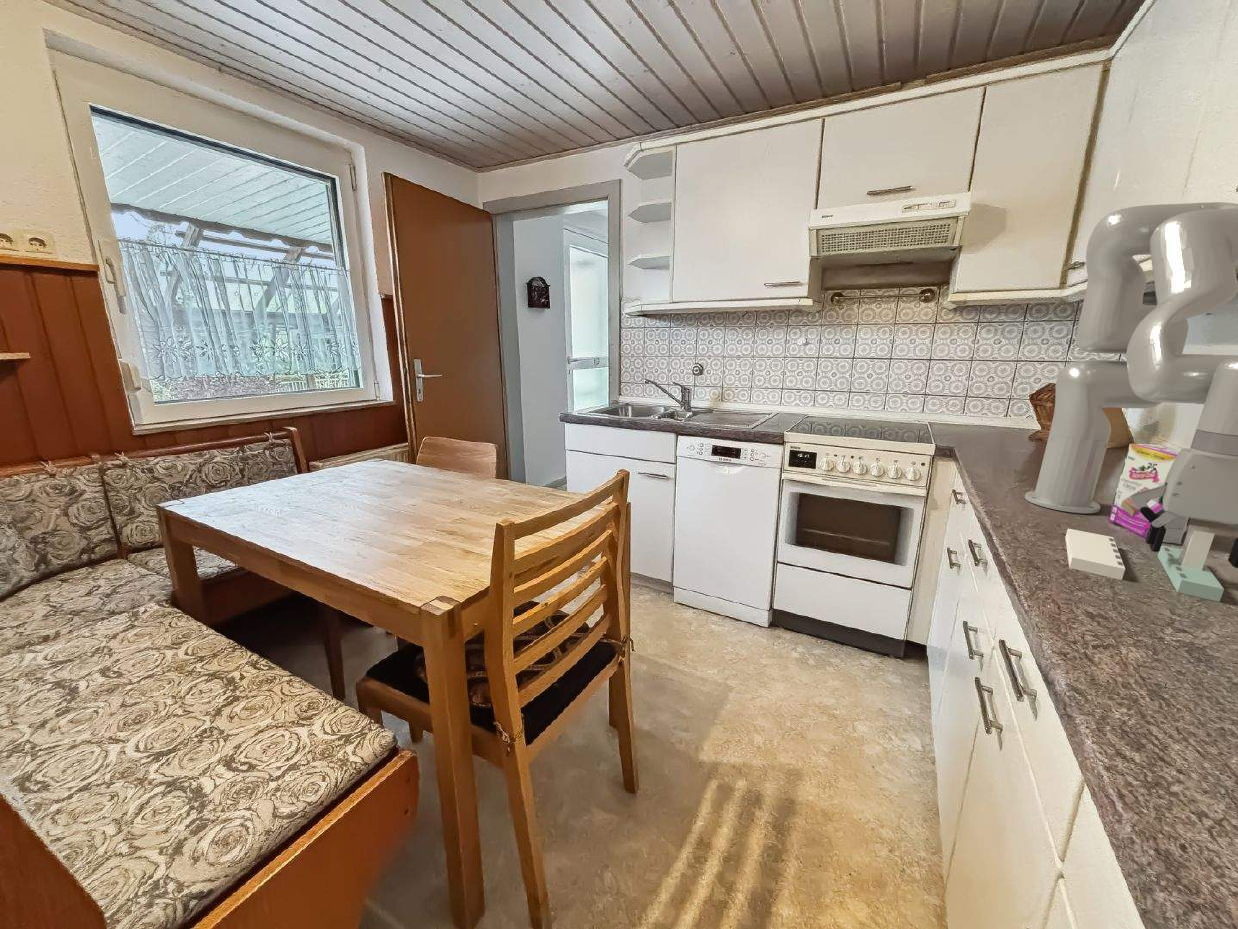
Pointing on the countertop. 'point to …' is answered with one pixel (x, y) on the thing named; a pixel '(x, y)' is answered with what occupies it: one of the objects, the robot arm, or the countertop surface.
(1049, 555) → the countertop surface
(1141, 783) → the countertop surface
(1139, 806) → the countertop surface
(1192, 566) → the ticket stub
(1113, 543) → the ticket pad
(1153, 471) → the candy bar box
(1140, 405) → the robot arm
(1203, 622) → the countertop surface
